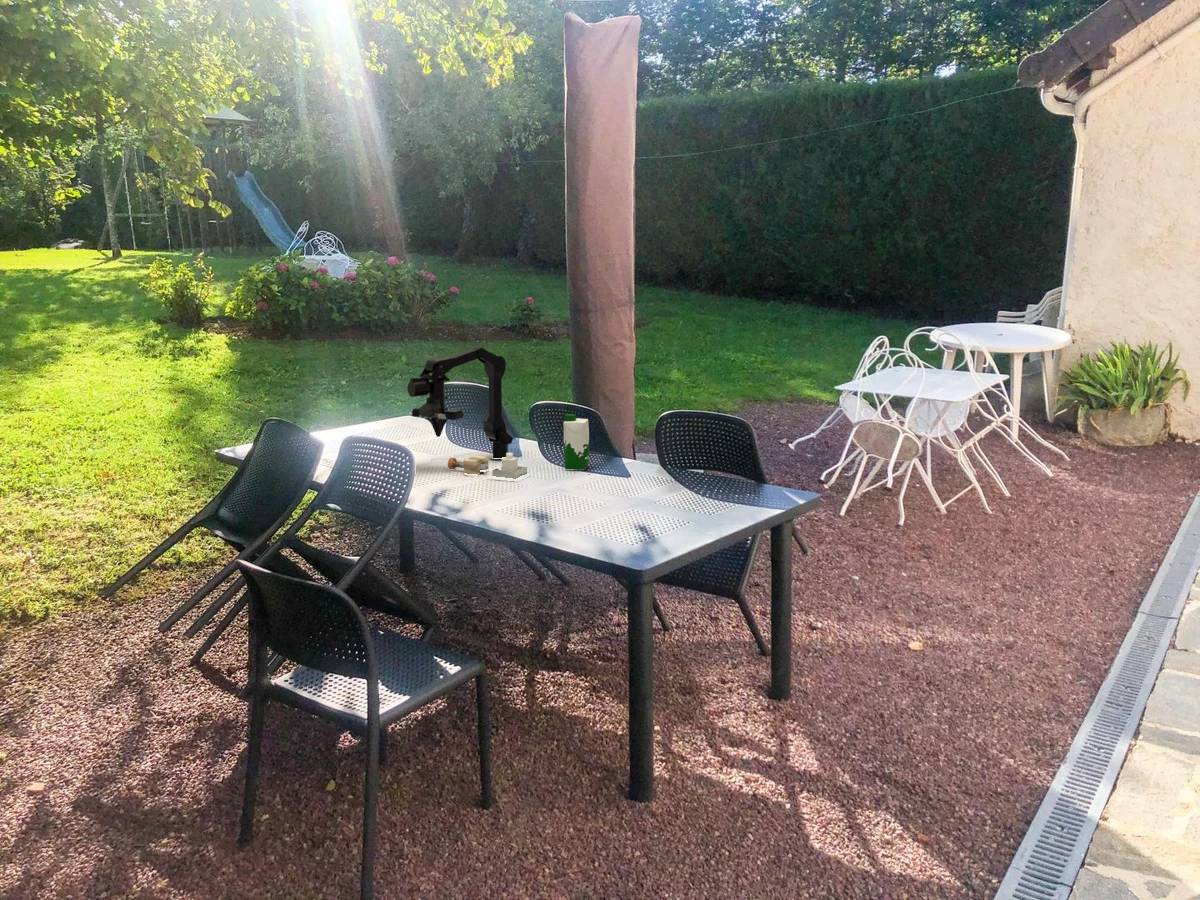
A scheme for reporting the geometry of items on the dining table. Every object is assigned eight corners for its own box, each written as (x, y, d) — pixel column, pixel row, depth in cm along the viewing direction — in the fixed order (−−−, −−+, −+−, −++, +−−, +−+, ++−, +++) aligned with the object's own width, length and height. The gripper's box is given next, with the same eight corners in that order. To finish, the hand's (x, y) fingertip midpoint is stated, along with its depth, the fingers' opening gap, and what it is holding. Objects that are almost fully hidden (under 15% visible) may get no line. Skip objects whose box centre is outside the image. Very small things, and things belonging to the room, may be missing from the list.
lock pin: (454, 467, 349) (454, 456, 348) (488, 471, 343) (488, 460, 342) (448, 470, 345) (447, 459, 344) (482, 474, 339) (482, 462, 338)
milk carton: (566, 465, 354) (566, 412, 349) (590, 466, 352) (590, 412, 348) (562, 470, 345) (561, 416, 341) (586, 471, 344) (586, 417, 339)
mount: (476, 469, 347) (476, 455, 346) (488, 471, 345) (488, 456, 344) (463, 475, 340) (463, 460, 338) (475, 476, 338) (475, 461, 336)
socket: (504, 471, 344) (503, 463, 344) (533, 474, 339) (532, 466, 339) (486, 479, 334) (486, 470, 333) (516, 482, 329) (516, 474, 328)
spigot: (507, 473, 339) (507, 451, 337) (517, 474, 338) (517, 452, 336) (502, 475, 336) (501, 453, 334) (512, 477, 334) (511, 454, 332)
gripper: (402, 395, 339) (403, 438, 343) (446, 399, 332) (448, 442, 335) (419, 391, 349) (421, 433, 352) (463, 394, 342) (464, 437, 345)
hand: (438, 436), depth 346 cm, fingers closed
